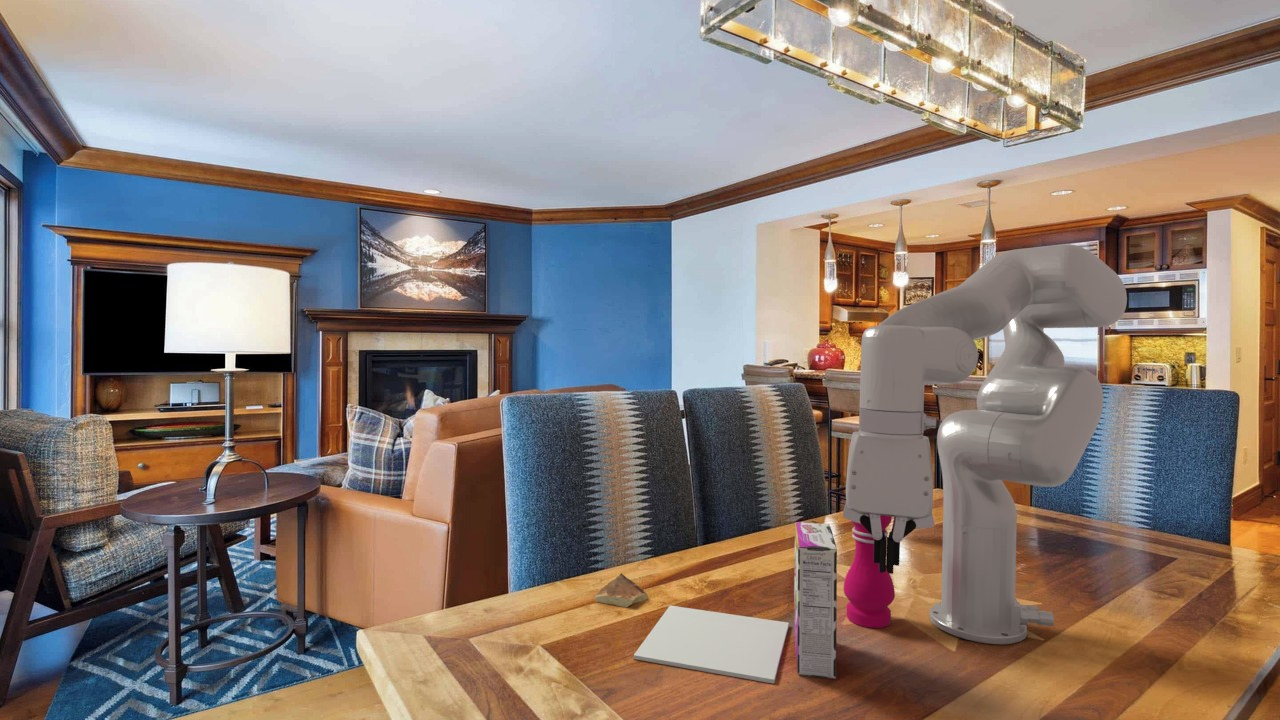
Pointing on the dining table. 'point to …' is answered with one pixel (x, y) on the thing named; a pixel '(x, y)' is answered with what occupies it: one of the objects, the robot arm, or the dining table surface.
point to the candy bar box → (815, 600)
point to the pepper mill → (868, 582)
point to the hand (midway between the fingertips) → (885, 569)
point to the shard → (621, 592)
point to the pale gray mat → (716, 643)
